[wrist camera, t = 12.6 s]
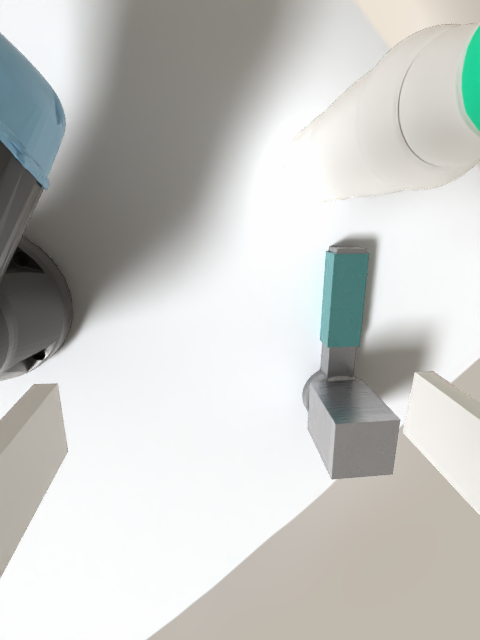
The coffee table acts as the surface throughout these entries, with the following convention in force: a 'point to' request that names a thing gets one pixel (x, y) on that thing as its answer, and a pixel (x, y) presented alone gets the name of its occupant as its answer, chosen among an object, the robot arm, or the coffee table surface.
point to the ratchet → (341, 314)
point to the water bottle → (397, 122)
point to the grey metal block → (352, 429)
